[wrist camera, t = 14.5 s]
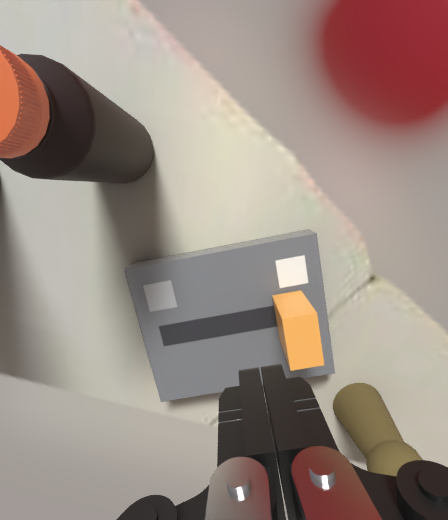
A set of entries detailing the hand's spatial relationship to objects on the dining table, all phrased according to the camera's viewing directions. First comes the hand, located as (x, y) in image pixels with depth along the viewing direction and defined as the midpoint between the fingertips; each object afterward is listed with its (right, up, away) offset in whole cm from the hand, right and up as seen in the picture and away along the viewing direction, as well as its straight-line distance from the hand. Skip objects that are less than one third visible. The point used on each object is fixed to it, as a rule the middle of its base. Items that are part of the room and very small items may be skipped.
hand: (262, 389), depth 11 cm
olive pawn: (+15, -14, +28) cm, 35 cm away
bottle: (-12, +16, +22) cm, 30 cm away
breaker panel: (0, -2, +26) cm, 26 cm away
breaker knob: (+6, -1, +22) cm, 23 cm away
